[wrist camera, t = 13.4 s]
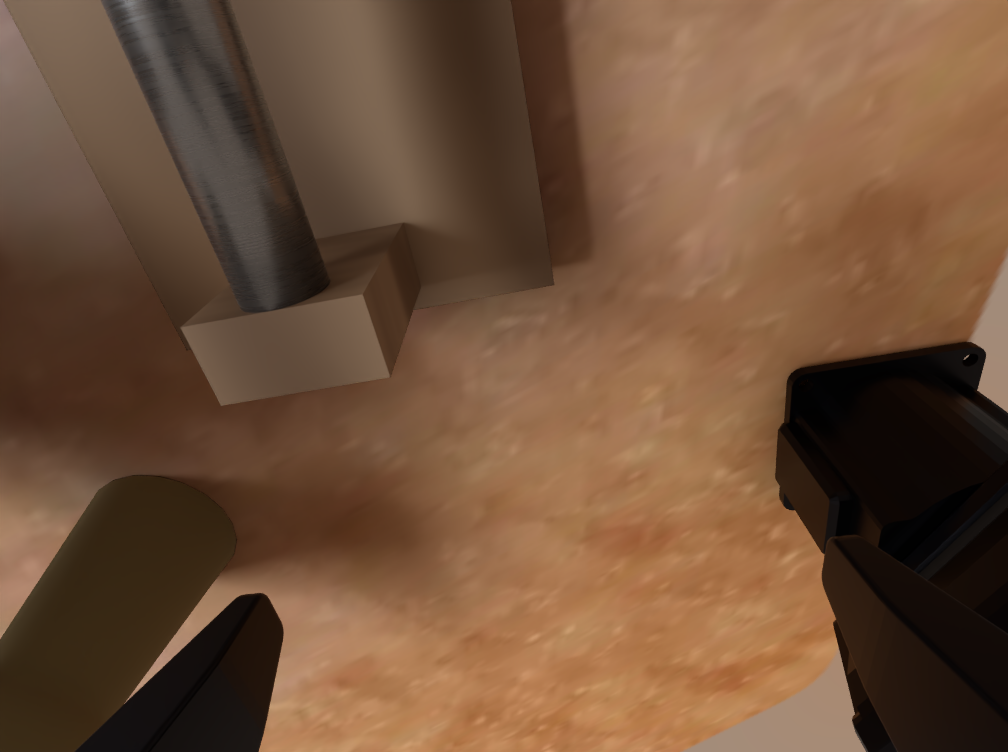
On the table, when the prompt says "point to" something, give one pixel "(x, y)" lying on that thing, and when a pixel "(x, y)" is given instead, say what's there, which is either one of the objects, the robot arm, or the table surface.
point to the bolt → (223, 145)
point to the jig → (326, 175)
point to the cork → (107, 609)
